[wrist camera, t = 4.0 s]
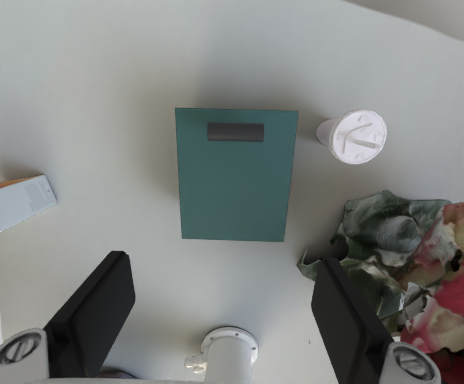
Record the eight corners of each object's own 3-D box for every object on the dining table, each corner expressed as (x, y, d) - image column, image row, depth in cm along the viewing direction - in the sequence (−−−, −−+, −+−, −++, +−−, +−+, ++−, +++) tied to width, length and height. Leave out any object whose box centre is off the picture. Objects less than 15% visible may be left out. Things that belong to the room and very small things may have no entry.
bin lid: (176, 107, 26) (162, 106, 21) (296, 111, 26) (311, 110, 21) (183, 235, 32) (172, 259, 27) (282, 239, 32) (291, 263, 26)
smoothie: (299, 133, 36) (335, 144, 23) (331, 101, 34) (390, 92, 21) (325, 160, 37) (374, 186, 24) (357, 131, 36) (428, 140, 22)
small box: (46, 173, 39) (-20, 194, 29) (59, 203, 41) (1, 232, 31) (3, 180, 40) (-75, 203, 30) (18, 210, 41) (-52, 240, 32)
